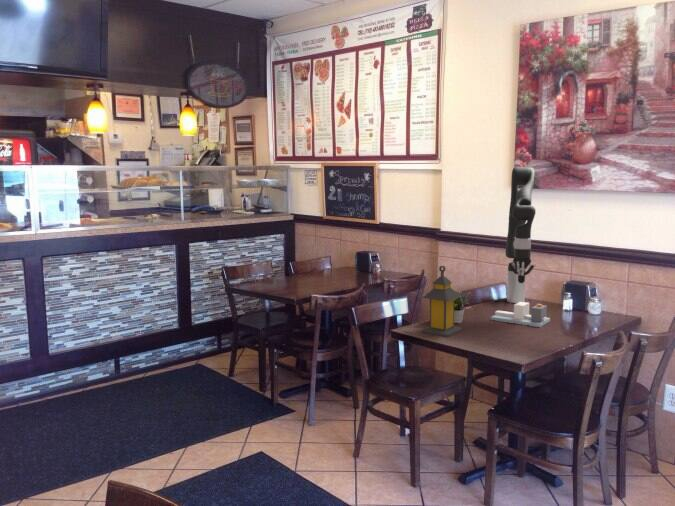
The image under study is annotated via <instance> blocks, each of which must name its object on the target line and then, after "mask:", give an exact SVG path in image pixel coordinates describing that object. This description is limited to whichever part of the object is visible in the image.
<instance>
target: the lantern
mask: <svg viewBox="0 0 675 506" xmlns="http://www.w3.org/2000/svg"><path fill="white" fill-rule="evenodd" d="M438 269H439V272H440V276H438V278H437V279H435V281H433V282H432V284H433V288H432V289H431V290H430V291H429V292H427V293H426V294H425V295H424V296H422V298H423V299H428V300H429V326H427V327H425V328H422V329H421V333H424V334H429V335H435V336H439V337H440V336H441V337H446V338H447V337H451V336H454V335H455V333H456V334H458V333H460V332H462V331H463V328H462V327H459V326H455V323H454V300H455V299H456V298H459V297H463V296H462V295H459V292H457V291H456V292H455V289H453V288H452V287H451V284H453V282H452V281H451V280H449V279H448V277H446V276H445V271H446V266H445V265H440V266H439V267H438ZM461 330H462V331H461ZM459 331H460V332H459ZM457 332H458V333H457ZM453 334H454V335H453Z"/></svg>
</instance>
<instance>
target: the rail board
mask: <svg viewBox="0 0 675 506" xmlns="http://www.w3.org/2000/svg"><path fill="white" fill-rule="evenodd" d="M547 313H548V305H544V304H542V303H537V304H536V305H534V306H532V307H531V313H530V314H529V315H527V314H526V315H524V320H519V319H514V311H513V312H511V311H504V310H495V311H494V315H492V316H490V321H494V320H495V322H501V323H507V322H508V323H509V324H514V323H515V324H516V325H521V324H522V325H523V326H527V325H529V327H536V328H542V327H543V326H544V325H546V324H548V323H550V322H551V317H548V316H547V315H548V314H547ZM508 323H507V324H508ZM522 325H521V326H522Z"/></svg>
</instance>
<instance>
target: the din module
mask: <svg viewBox="0 0 675 506" xmlns="http://www.w3.org/2000/svg"><path fill="white" fill-rule="evenodd" d="M513 313H514V319H519V320H524V315H526V314H527V315H530V302H528V301H527V302H519V303H514V304H513Z"/></svg>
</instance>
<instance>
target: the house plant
mask: <svg viewBox="0 0 675 506" xmlns="http://www.w3.org/2000/svg"><path fill="white" fill-rule="evenodd" d="M454 291H455V292H457V289H456V288H454ZM463 291H464V290H462V289H460V290H459V292H458V294H459V295H461V296H462V295H463ZM471 293H472V291H470V292H468V293H465V294H464V295H463V296H462V297H459V298H456V299H454V324H460V323H463V318H464V313H465V308H463V307H462V306H463V305H466V304H468V305H469V302H467V301H469V300H470V299H465V298H467V297H468V296H470V294H471ZM464 299H465V300H464Z"/></svg>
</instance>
